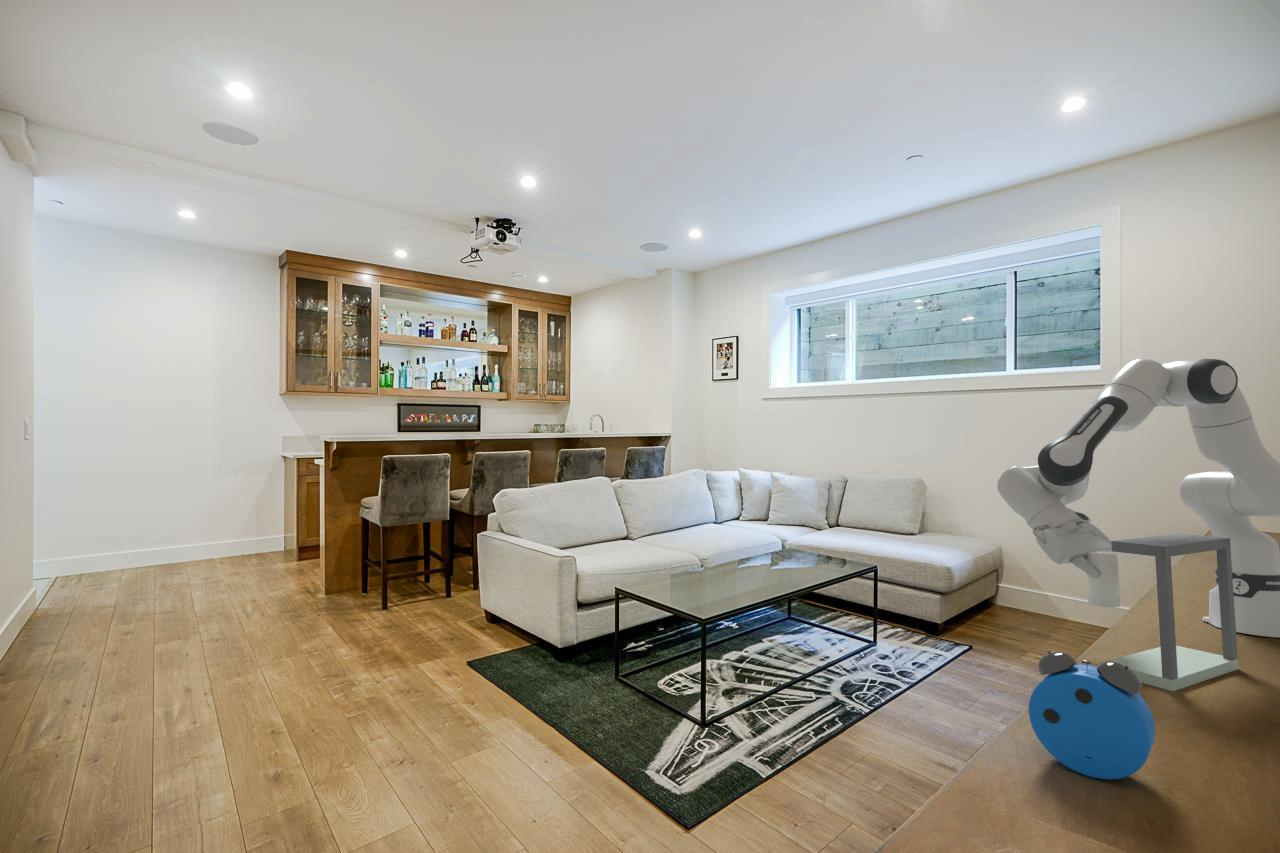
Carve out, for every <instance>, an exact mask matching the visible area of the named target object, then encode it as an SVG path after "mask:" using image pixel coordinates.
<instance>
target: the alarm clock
mask: <svg viewBox="0 0 1280 853" xmlns="http://www.w3.org/2000/svg"><path fill="white" fill-rule="evenodd" d="M1081 663H1082V664H1078V661H1077V660H1076V659H1075V658H1074V657H1073V656H1072V655H1071V654H1069V653H1067V652H1064V651H1052V652H1051V651H1050V650H1048V651H1047V653H1046V654H1044V655H1042V656H1041V657H1040V658H1039V660H1038V662H1037V670H1038V672H1039V674H1040V675H1042V676H1043V675H1046V676H1045V677H1044V678H1043V679H1042V680H1041V681H1040V682H1039V683H1038V684H1037V685H1036V686H1035V688H1034V689H1033V690H1032V692H1031V695H1030V697H1029V702H1028V717H1029V721H1030V725H1031V728H1032V729H1033V732H1034V734H1035V736H1036V737H1037V738H1036V739H1038V741H1039V742H1040V744H1041V745H1042V746H1043V747H1044V748H1045V750H1046V751H1047V752H1048V753H1049V754H1050V755H1052V757H1053V758H1054V759H1056V760H1057V761H1058V762H1059V763H1060V764H1063V765H1064V766H1065V767H1067V768H1068V769H1070V770H1073V771H1074V772H1076V773H1079V774H1081V775H1083V776H1087V777H1090V778H1094V779H1099V780H1119V779H1120V780H1121V779H1124V778H1126V777H1129V776H1131V775H1134V774H1135V773H1137V772H1138V771H1140V769H1141V768H1142V767H1143V766H1144V765H1145V764H1146V763H1147V760H1148V758H1149V756H1150V753H1151V750H1152V747H1153V745H1154V743H1155V737H1156V724H1155V720H1154V716H1153V715H1152V712H1151V709H1150V707H1149V706H1148V704H1147V702H1146V701H1145V699H1144V698H1143V696H1141V694H1140V693H1141V691H1142V686H1143V685H1142V684H1143V683H1141V681H1140V679H1139V677H1138V676H1137V675H1136V674H1135V673H1134V672H1133V671H1132V670H1131V669H1130V668H1128V666H1127V665H1126V666H1125V665H1123V664H1120V663H1117V662H1112V661H1109V660H1106V661H1103V662H1101V663H1099V664H1098V665H1097V666H1093V665H1092V661H1091V660H1085V659H1081Z"/></svg>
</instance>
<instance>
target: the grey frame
mask: <svg viewBox="0 0 1280 853" xmlns="http://www.w3.org/2000/svg"><path fill="white" fill-rule="evenodd" d="M1111 543H1112V551H1113V552H1114V553H1122V554H1132V555H1141V556H1150V557H1154V558H1155V571H1156V575H1155V576H1156V590H1157V610H1158V622H1159V623H1158V624H1159V625H1158V626H1159V627H1158V628H1159V639H1160V640H1159V641H1160V645H1159V646H1157V647H1154V648H1150V649H1147V650H1143V651H1140V652H1139V651H1138V652H1136V653H1132V654H1127V655H1125V656H1121V657H1116V658H1113V659H1110V660H1108V661H1112V662H1117V663H1120V664H1123V665H1125V666H1126V665H1127V666H1128V668H1130V669H1131V670H1132V671H1133V672H1134V673H1135V674H1136V675H1137V676H1138V677H1139V679H1140V681H1141V684H1144V685H1148V686H1152V687H1156V688H1159V689H1163V690H1167V691H1169V692H1175V691H1178V690H1183V689H1184V688H1188V687H1190V686H1193V685H1196V684H1199V683H1203V682H1205V681H1207V680H1211V679H1214V678H1217V677H1221V676H1223V675H1225V674H1229V673H1230V672H1231V673H1232V672H1234V671H1237V670H1239V660H1238V658H1239V657H1238V656H1239V654H1238V644H1237V643H1238V642H1237V641H1238V640H1237V632H1236V624H1235V609H1234V594H1233V578H1232V563H1231V548H1230V538H1223V537H1213V536H1210V535H1207V536H1206V535H1197V534H1183V533H1172V534H1165V535H1164V534H1162V535H1154V536H1147V537H1145V536H1144V537H1136V538H1126V539H1119V540H1111ZM1212 551H1215V553H1217V556H1216V563H1217V564H1216V565H1217V566H1216V567H1217V568H1218V584H1219V599H1220V615H1221V628H1220V629H1221V631H1220V632H1221V644H1222V645H1221V646H1222V655H1221V654H1217V653H1213V652H1208V651H1205V650H1204V651H1203V650H1198V649H1194V648H1190V647H1185V646H1180V645H1177V643H1176V642H1177V641H1176V640H1177V638H1176V624H1175V622H1176V621H1175V608H1174V605H1175V603H1174V590H1173V589H1174V588H1173V587H1174V586H1173V575H1172V574H1173V572H1172V571H1173V570H1172V557H1177V556H1178V557H1179V556H1186V555H1192V554H1198V553H1205V552H1212ZM1217 568H1216V569H1217Z"/></svg>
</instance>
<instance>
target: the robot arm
mask: <svg viewBox="0 0 1280 853" xmlns="http://www.w3.org/2000/svg"><path fill="white" fill-rule="evenodd" d="M1238 377H1239V376H1238V374H1237V372H1236V370H1235V368H1234V367H1232V365H1231V364H1230V363H1228V362H1227V361H1225V360H1223V359H1218V358H1200V359H1187V360H1185V359H1184V360H1176V361H1171V362H1166V363H1162V364H1161V363H1160V362H1158V361H1156V360H1154V359H1148V358H1139V359H1134V360H1131V361H1130V362H1128V363H1127V364H1125V365H1124V366H1122V368H1120V369H1119V370H1118V371H1117V372H1116V373H1115V374H1114V375H1113V376H1111V378H1110V379H1108V381H1107V382H1106V383H1105V384H1104V386H1103V387H1102V388H1101V390H1100V391H1099V392H1098V393H1097V395H1096V396H1095V398H1094V399H1093V401H1092V403H1091V405H1090V407H1089V408H1088V409H1087V410H1086V411H1085V413H1084V414H1082V416H1081V417H1080V418H1079V419H1078V420H1077V421H1076V422H1075V423H1074V425H1072V427H1071V428H1070V429H1069V430H1068V431H1067V432H1066V433H1065V434H1063V435H1062V436H1060V437H1059V438H1057V439H1055V440H1053V441H1051V442H1049V443H1048V444H1046V445H1045V446H1044V447H1042V448H1041V450H1040V452H1038V456H1037V465H1034V466H1021V465H1020V466H1019V465H1014V466H1012V467H1009V468H1008V469H1007V470H1005V471H1004V472H1003V473H1002V474H1001V476H1000V478H999V479H998V480H997V492H998V493H999V495H1000V496H1001V498H1002V499H1003V500H1004V501H1005V503H1006V504H1007V505H1008V506H1009V507H1010V508H1011V509H1012V510H1013V511H1014V512H1015V513H1016V514H1017V515H1019V516H1020V517H1022V519H1023V520H1025V523H1026V524H1027V526H1028V527H1029V528H1030V529H1031V530H1032V534H1033V535H1034V537H1036V538H1035V541H1036V544H1038V546H1039V547H1040V548H1041V549H1042V551H1043V552H1044V553H1045V554H1046V556H1047V557H1048V558H1049V559H1050V560H1051V561H1052V562H1054V563H1055V564H1058V565H1065V564H1071V563H1072V565H1074V567H1076V568H1078V569H1079V570H1080V571H1083V572H1084V573H1086V575H1087V574H1088V575H1089V576H1090V577H1091V578H1095V577H1098V576H1099V575H1100V574H1101V572H1100V571H1099V570H1098V569H1097V568H1096V567H1093V566H1092V565H1090V564H1089V563H1088V562H1086V555H1087V554H1088V552H1096V551H1105V552H1113V551H1112V543H1111V541H1112V540H1111V539H1110V538H1109V537H1108V536H1107V535H1106V534H1105V533H1104V532H1103V531H1102V530H1101V529H1100V528H1099V527H1097V525H1095V524H1093V523H1091V522H1092V519H1091V518H1090V517H1089V516H1088V515H1087V514H1085V513H1082V512H1079V511H1075V510H1073V509H1071V508H1068V507H1067V506H1066V505H1068V504H1071V503H1073V502H1075V501H1077V500H1079V499H1081V498H1082V497H1084V495H1085V494H1086V492H1087V490H1088V486H1089V483H1090V482H1089V480H1090V474H1091V469H1092V465H1093V461H1094V453H1095V450H1096V449H1097V448H1098V447H1099V445H1100V444H1101V443H1103V441H1104V440H1105V438H1107V436H1108V435H1109V434H1110V433H1111V432H1112V431H1114V432H1119V433H1120V432H1123V433H1124V432H1128V431H1130V432H1131V431H1133V430H1134V429H1135V428H1138V426H1140V424H1142V423H1143V422H1144V421H1145V420H1146V419H1147V418H1148V417H1149V416H1150V414H1151V413H1152V412H1153V410H1154V409H1155V408H1156V407H1184V406H1186V407H1187V414H1188V418H1189V423H1190V426H1191V428H1192V432H1193V435H1194V439H1195V442H1196V445H1197V449H1198V451H1199V453H1201V455H1202V456H1203V457H1205V458H1207V459H1208V460H1211V461H1213V462H1215V463H1218V464H1220V465H1222V467H1224V468H1225V469H1227V470H1228V471H1227V470H1224V471H1220V470H1219V471H1218V470H1212V471H1211V470H1210V471H1202V472H1195V473H1190V474H1187V475H1185V477H1184V478H1183V479H1182V480H1181V482H1180V484H1179V486H1178V487H1179V488H1178V493H1179V494H1178V495H1179V497H1180V500H1181V501H1182V503H1183V504H1184V505H1185V506H1186V508H1188V509H1191V510H1192V511H1193V512H1194V513H1196V514H1197V515H1198V516H1199V517H1200V518H1201V519H1202V520H1203V521H1204V523H1205V525H1206V526H1207V527H1208V528H1209V530H1210V533H1211V535H1212V537H1223V538H1230V548H1231V563H1232V578H1233V594H1234V609H1235V624H1236V633H1241V634H1245V635H1246V634H1247V635H1252V636H1261V637H1269V638H1280V546H1279V543H1278V542H1277V541H1276V540H1275V539H1274V538H1273V537H1272V536H1270V535H1269V534H1267V533H1265V532H1263V531H1261V530H1259V529H1257V528H1256V527H1255V525H1254V524H1253V523H1252V522H1251V520H1250V517H1265V518H1266V517H1267V518H1280V462H1279V461H1278V460H1277V459H1276V458H1274V457H1273V456H1272V454H1270V452H1269V451H1268V450H1267V449H1266V447H1265V445H1264V444H1263V443H1262V441H1261V438H1260V435H1259V433H1258V431H1257V428H1256V425H1255V422H1254V418H1253V415H1252V413H1251V409H1250V407H1249V405H1248V402H1247V400H1246V398H1245V395H1244V393H1243V392H1242V390H1241V389H1240V387H1239V385H1238V382H1239V380H1238V379H1239V378H1238ZM1113 553H1115V552H1113ZM1215 553H1216V552H1215ZM1215 555H1216V556H1215V557H1217V553H1216V554H1215ZM1214 571H1215V573H1214V578H1215V583H1216V584H1217V585H1216V586H1215V587H1214V588H1212V589H1210V590H1209V599H1208V600H1209V601H1208V602H1209V603H1208V604H1209V605H1208V615H1207V616H1206V615H1205V616H1203V617H1202V620H1203V622H1204V621H1205V623H1207V622H1208V624H1211V625H1212V626H1214V627H1216V628H1219V629H1221V615H1220V599H1219V584H1218V568H1216V569H1215V570H1214Z"/></svg>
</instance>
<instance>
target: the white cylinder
mask: <svg viewBox="0 0 1280 853" xmlns="http://www.w3.org/2000/svg"><path fill="white" fill-rule="evenodd" d="M1086 562H1088V563H1089V564H1090V565H1092V566H1093V567H1096V568H1097V569H1098V570H1099V571H1100V572H1101V574H1100V575H1099V576H1098V577H1095V578H1091V577H1090V576H1089V575H1088V574H1087V573H1086V579H1087V598H1088V603H1089V604H1091V605H1093V606H1094V605H1095V606H1099V607H1108V608H1118V607H1121V590H1120V589H1121V588H1120V587H1121V586H1120V570H1119V569H1120V568H1119V554H1118V552H1114V553H1113V552H1105V551H1096V552H1088V554H1087V555H1086Z"/></svg>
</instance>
